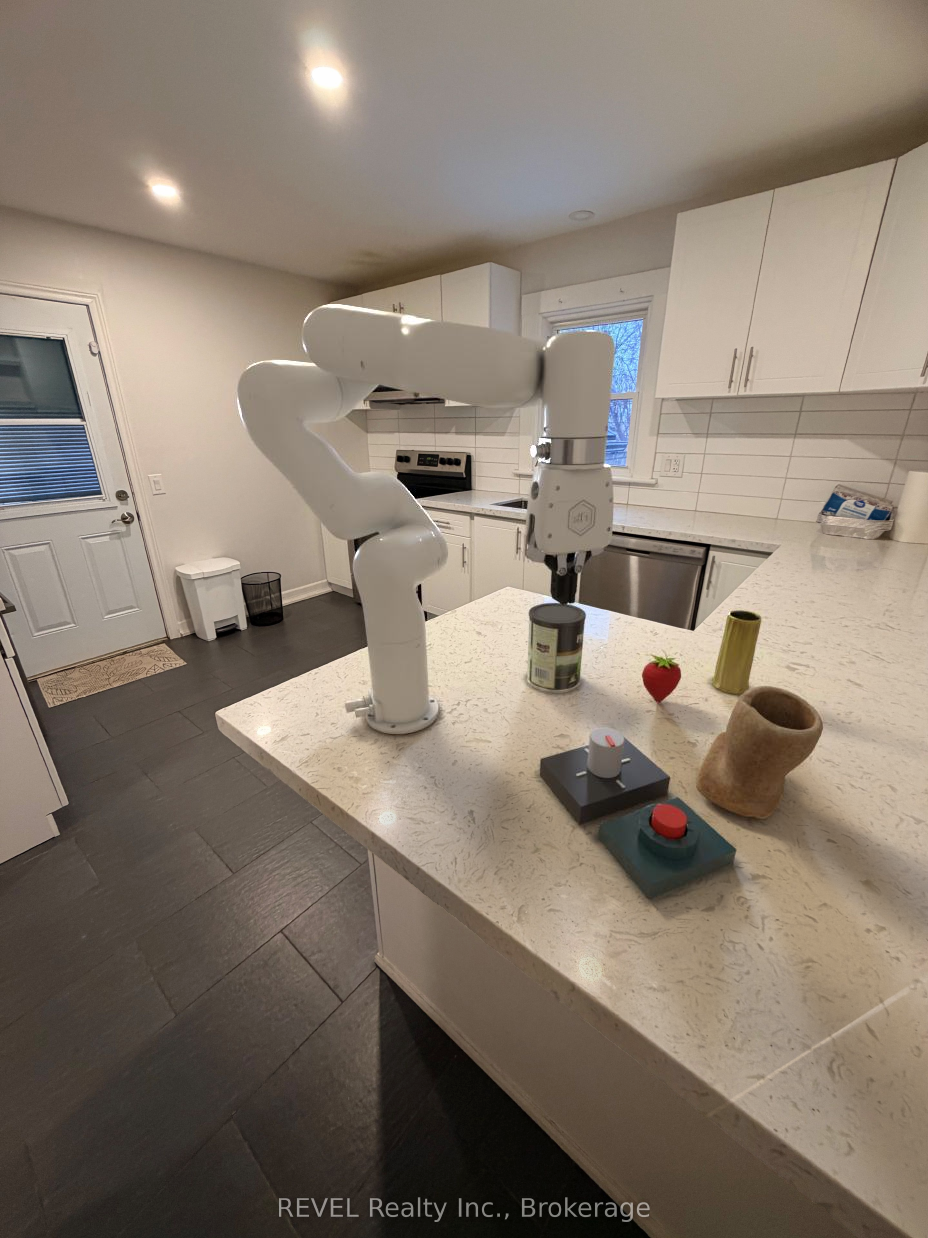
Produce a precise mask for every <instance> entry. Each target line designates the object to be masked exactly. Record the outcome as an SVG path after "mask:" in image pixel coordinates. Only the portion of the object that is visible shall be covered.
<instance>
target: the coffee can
mask: <svg viewBox="0 0 928 1238" xmlns="http://www.w3.org/2000/svg"><path fill="white" fill-rule="evenodd" d="M586 619H587V613H586V612H585V610H583V609H582V608H580V607H578V606H576V605H573V604H570V603H568V604H565V605H562V604H561V603H559V602H549V603H546V602H545V603H541V604H537V605H534V606H532V607H530V609H528V644H527V645H528V647H527V674H526V681H527V683H528V684H529V685H530V686H531V687H532V688H534V689H536V690H538V691H541V692H545V693H550V694H551V693H552V694H563V693H569V692H571V691H574V690H576V689H577V688H578V687H579V686H580V684H581V670H582V659H583V658H582V656H583V648H584V647H583V645H584V633H585V631H584V630H585V622H586Z"/></svg>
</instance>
